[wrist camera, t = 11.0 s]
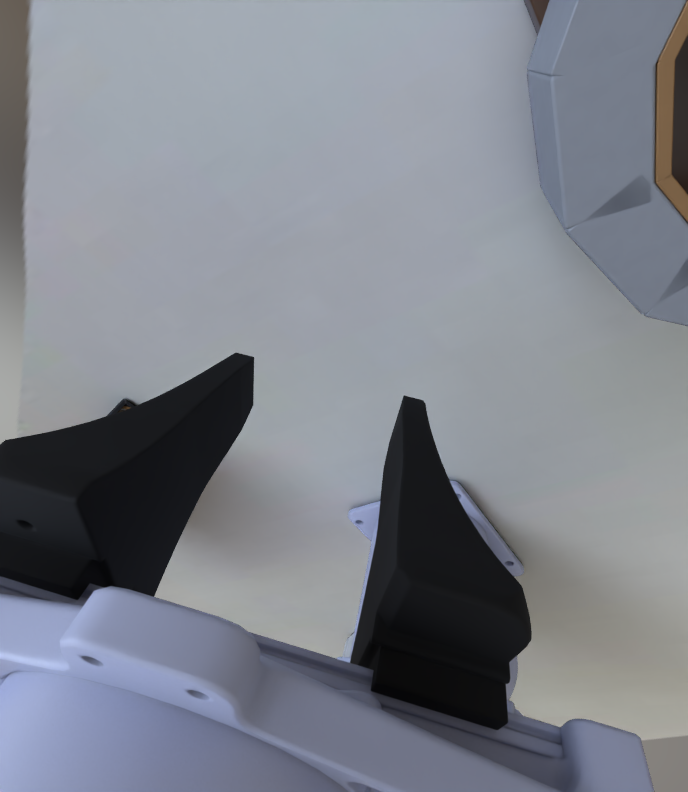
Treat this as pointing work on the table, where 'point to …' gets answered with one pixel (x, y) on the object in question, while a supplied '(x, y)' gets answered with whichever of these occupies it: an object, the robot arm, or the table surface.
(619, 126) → the tape roll
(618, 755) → the robot arm
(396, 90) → the table surface
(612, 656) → the table surface
